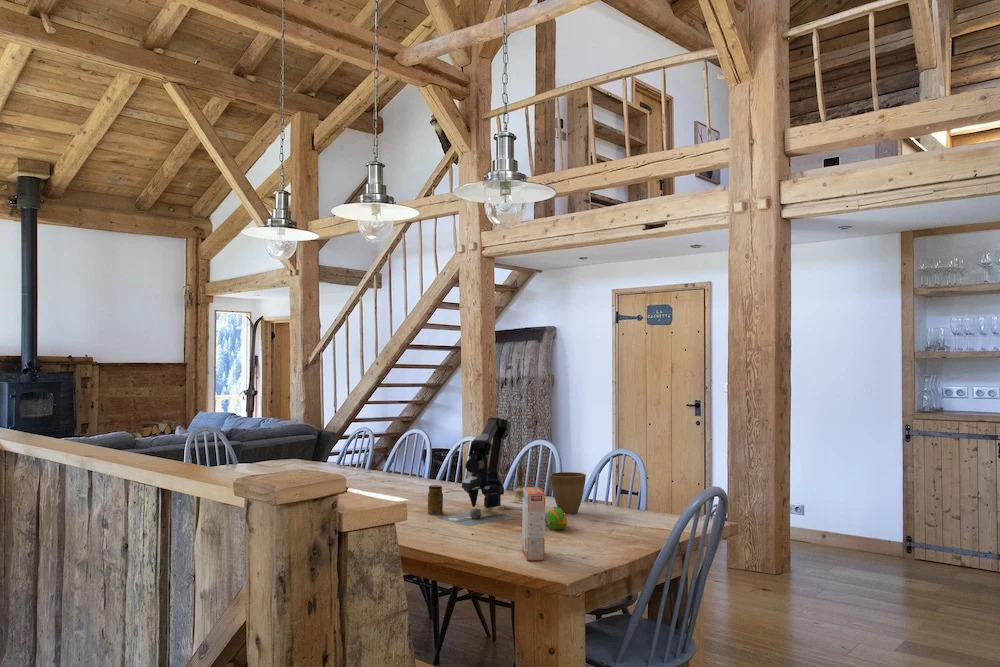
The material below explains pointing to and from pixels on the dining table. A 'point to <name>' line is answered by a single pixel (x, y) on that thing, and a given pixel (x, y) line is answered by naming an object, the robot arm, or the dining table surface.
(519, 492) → the hand bell
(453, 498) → the dining table surface
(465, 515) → the grey board
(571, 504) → the plant pot
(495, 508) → the dial lever
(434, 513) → the condiment
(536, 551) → the cracker box
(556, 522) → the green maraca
